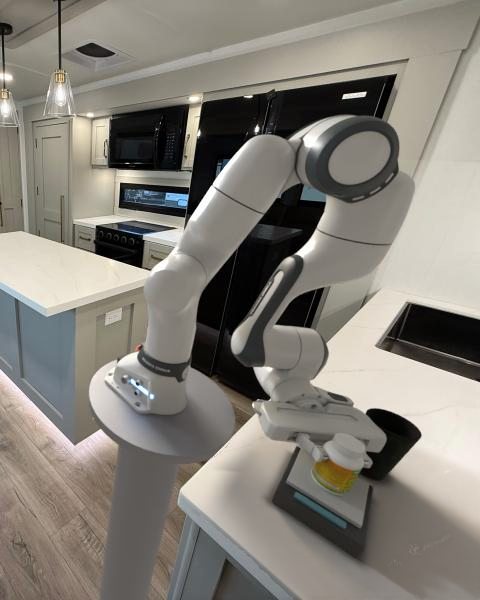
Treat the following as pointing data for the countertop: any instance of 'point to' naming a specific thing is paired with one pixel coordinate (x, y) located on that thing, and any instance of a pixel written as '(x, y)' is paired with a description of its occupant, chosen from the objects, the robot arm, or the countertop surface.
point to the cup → (390, 442)
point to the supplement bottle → (339, 464)
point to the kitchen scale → (325, 504)
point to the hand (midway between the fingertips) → (345, 462)
